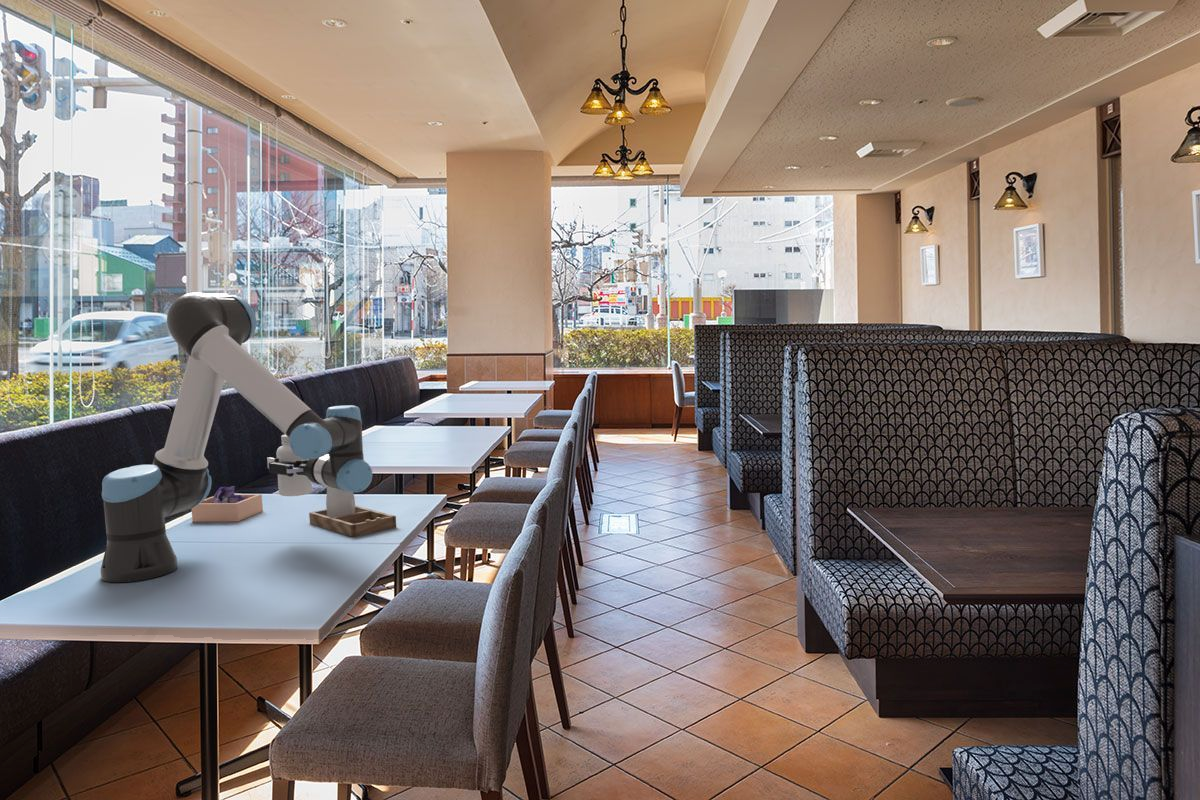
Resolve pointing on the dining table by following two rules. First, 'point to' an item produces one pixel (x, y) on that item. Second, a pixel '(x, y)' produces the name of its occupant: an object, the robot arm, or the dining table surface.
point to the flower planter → (227, 509)
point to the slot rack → (354, 521)
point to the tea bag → (339, 502)
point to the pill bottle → (296, 483)
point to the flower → (227, 495)
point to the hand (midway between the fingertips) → (285, 460)
